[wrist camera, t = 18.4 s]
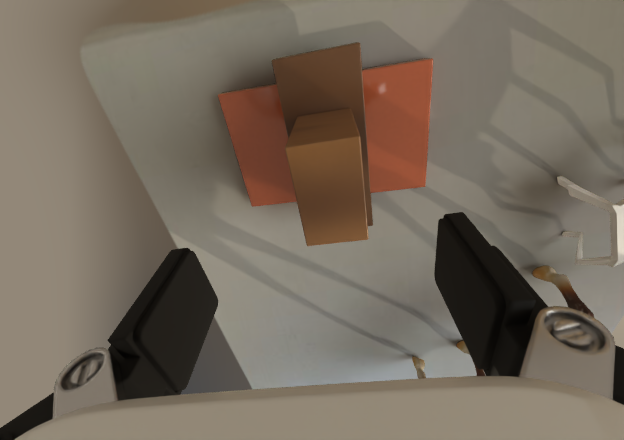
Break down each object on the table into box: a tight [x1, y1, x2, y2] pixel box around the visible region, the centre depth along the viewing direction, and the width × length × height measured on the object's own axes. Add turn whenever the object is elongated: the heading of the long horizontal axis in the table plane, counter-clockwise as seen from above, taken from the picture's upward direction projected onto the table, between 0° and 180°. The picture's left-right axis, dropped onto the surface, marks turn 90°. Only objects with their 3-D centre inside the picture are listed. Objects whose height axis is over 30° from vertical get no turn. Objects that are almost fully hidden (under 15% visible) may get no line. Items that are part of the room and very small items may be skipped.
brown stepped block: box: [272, 42, 373, 246], centre depth 19 cm, size 13×5×10 cm, turn 10°
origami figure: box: [557, 176, 624, 267], centre depth 24 cm, size 12×8×5 cm
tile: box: [218, 58, 433, 207], centre depth 24 cm, size 16×10×1 cm, turn 99°
